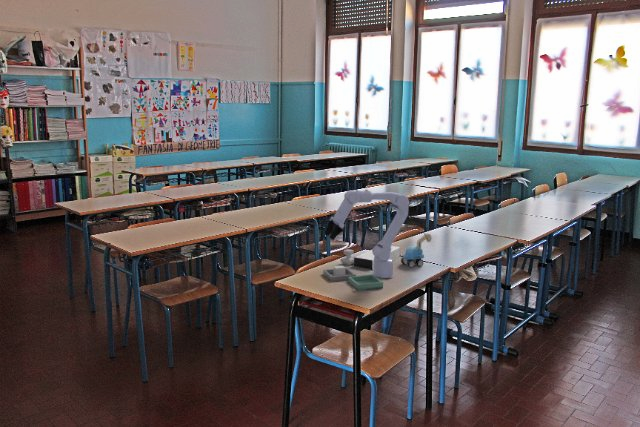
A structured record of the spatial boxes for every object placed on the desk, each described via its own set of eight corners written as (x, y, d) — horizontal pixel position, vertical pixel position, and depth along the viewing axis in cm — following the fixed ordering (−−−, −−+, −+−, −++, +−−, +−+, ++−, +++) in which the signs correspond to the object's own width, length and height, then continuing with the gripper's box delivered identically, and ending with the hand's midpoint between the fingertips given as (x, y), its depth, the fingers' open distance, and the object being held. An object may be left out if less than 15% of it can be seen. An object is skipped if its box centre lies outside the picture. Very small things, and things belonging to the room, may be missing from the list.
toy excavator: (433, 265, 307) (435, 234, 304) (407, 268, 301) (408, 237, 298) (425, 261, 315) (426, 231, 312) (399, 264, 309) (400, 234, 306)
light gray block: (342, 274, 287) (342, 265, 286) (345, 277, 283) (345, 267, 282) (333, 275, 285) (333, 266, 284) (336, 278, 281) (336, 268, 280)
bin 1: (346, 273, 292) (346, 267, 292) (355, 280, 280) (356, 274, 279) (323, 275, 288) (323, 269, 288) (331, 283, 276) (331, 277, 275)
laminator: (382, 254, 330) (382, 244, 329) (401, 257, 324) (401, 247, 323) (353, 268, 303) (354, 257, 301) (373, 271, 296) (374, 260, 295)
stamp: (358, 265, 307) (358, 250, 306) (351, 267, 302) (351, 252, 301) (345, 262, 313) (345, 247, 311) (338, 264, 308) (338, 249, 306)
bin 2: (372, 280, 281) (372, 274, 280) (382, 288, 268) (383, 282, 268) (348, 282, 277) (348, 276, 276) (357, 290, 264) (357, 284, 264)
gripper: (331, 206, 281) (317, 229, 281) (341, 212, 267) (326, 237, 268) (342, 212, 283) (329, 235, 284) (352, 219, 270) (338, 243, 270)
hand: (328, 236), depth 276 cm, fingers open, 7 cm apart
